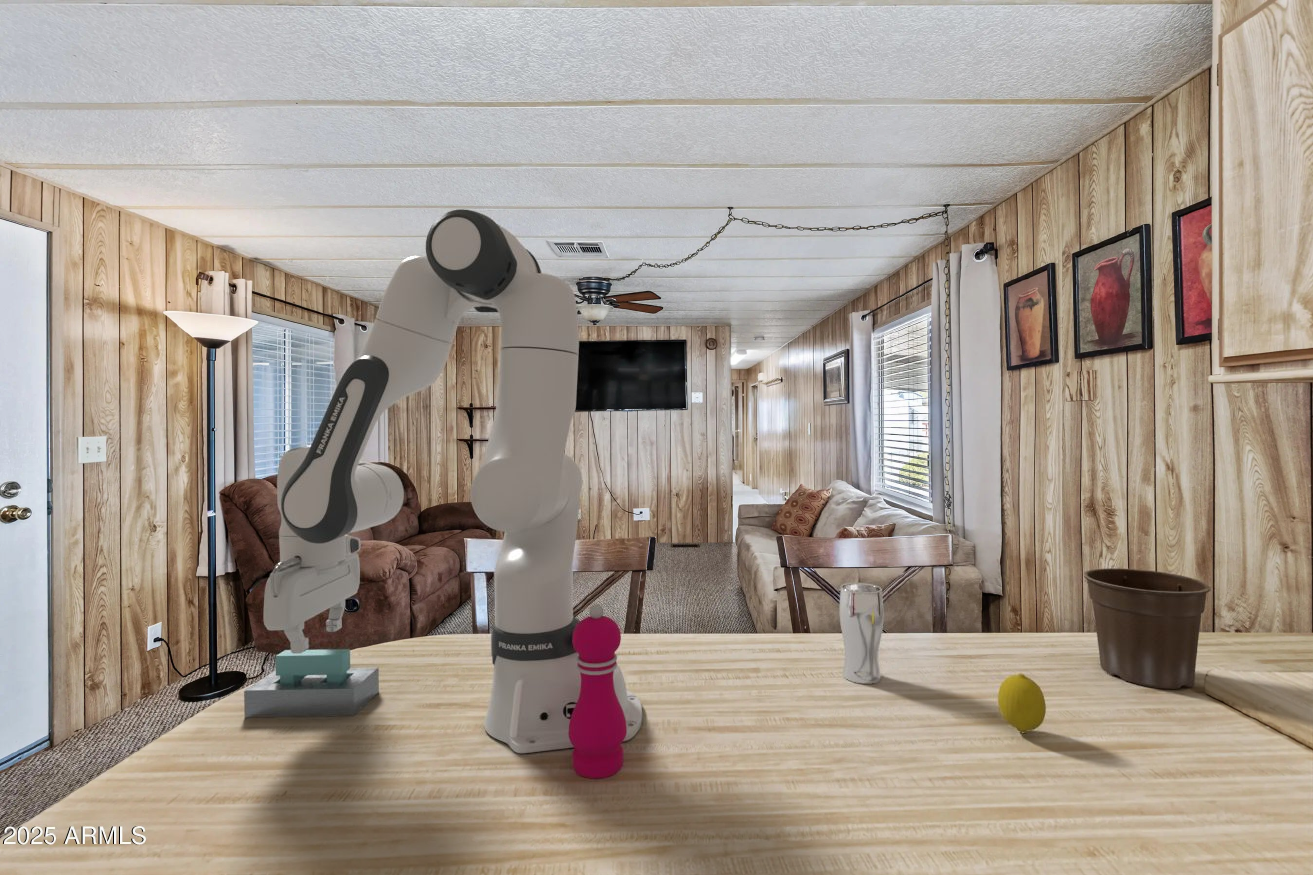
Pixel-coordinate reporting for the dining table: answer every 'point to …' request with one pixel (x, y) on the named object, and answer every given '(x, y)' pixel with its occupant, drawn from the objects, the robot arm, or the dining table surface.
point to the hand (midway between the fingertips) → (318, 640)
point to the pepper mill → (597, 698)
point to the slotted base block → (312, 695)
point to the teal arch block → (313, 665)
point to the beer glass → (861, 631)
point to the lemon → (1021, 702)
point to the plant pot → (1147, 624)
